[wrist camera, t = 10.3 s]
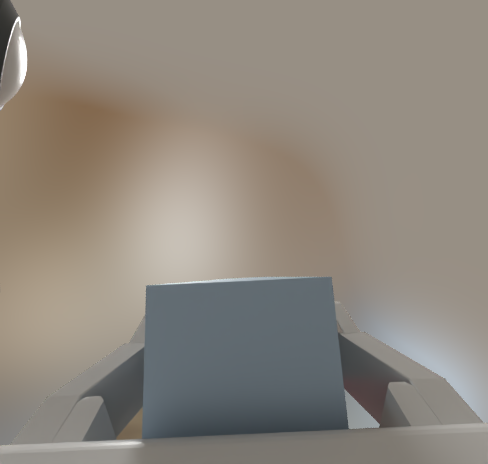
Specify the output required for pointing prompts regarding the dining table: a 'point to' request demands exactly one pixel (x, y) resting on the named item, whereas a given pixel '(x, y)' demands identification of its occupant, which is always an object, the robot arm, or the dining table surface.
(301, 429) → the bar
